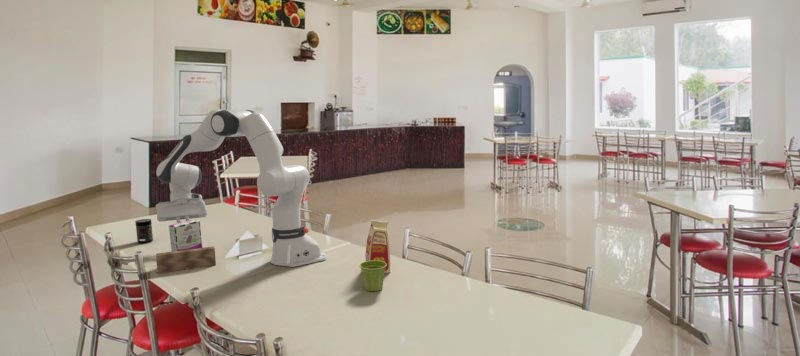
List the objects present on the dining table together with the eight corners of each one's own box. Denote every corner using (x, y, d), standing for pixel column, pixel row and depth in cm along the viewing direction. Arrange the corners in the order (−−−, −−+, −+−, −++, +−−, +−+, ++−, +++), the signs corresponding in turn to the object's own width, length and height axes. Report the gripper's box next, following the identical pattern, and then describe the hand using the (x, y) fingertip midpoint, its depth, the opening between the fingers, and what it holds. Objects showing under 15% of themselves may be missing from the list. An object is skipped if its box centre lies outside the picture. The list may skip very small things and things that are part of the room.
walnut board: (215, 262, 195) (214, 246, 194) (215, 265, 193) (214, 248, 192) (157, 270, 187) (156, 253, 185) (157, 273, 184) (155, 255, 183)
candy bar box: (196, 256, 204) (193, 219, 201) (203, 258, 201) (200, 220, 198) (171, 264, 195) (168, 224, 192) (178, 266, 192) (175, 226, 189)
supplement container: (155, 239, 231) (153, 218, 230) (151, 243, 225) (149, 221, 223) (139, 240, 230) (137, 219, 228) (135, 244, 223) (133, 222, 222)
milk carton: (369, 274, 180) (368, 222, 177) (364, 267, 189) (363, 217, 185) (393, 272, 182) (392, 221, 179) (387, 264, 191) (386, 215, 188)
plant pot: (354, 289, 166) (353, 265, 164) (372, 281, 173) (372, 258, 172) (374, 295, 160) (374, 271, 159) (392, 287, 167) (392, 263, 166)
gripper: (154, 198, 210) (156, 225, 203) (205, 194, 218) (208, 220, 211) (156, 206, 214) (157, 233, 207) (205, 202, 223) (208, 227, 216)
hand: (183, 226), depth 209 cm, fingers closed
